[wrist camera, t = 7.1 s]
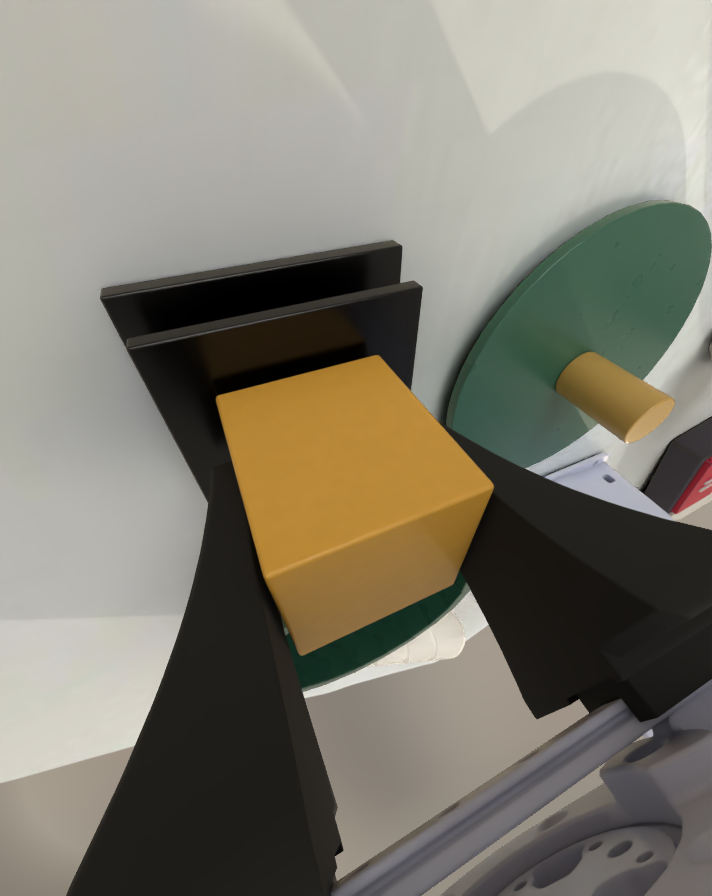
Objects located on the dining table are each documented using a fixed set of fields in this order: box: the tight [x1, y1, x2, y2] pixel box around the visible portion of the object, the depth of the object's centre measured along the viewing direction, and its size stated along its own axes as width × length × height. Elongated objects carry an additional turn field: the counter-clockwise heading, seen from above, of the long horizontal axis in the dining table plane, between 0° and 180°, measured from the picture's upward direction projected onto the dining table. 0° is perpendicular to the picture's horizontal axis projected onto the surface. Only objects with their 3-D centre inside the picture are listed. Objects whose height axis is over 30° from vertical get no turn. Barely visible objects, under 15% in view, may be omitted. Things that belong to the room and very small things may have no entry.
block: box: [216, 355, 494, 655], centre depth 9 cm, size 4×4×5 cm
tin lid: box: [446, 200, 712, 468], centre depth 17 cm, size 14×14×5 cm
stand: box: [100, 240, 423, 502], centre depth 12 cm, size 8×8×2 cm
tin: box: [281, 570, 470, 692], centre depth 21 cm, size 13×13×5 cm
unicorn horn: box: [366, 611, 465, 667], centre depth 33 cm, size 5×24×5 cm, turn 56°
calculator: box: [642, 417, 712, 521], centre depth 40 cm, size 11×4×15 cm
